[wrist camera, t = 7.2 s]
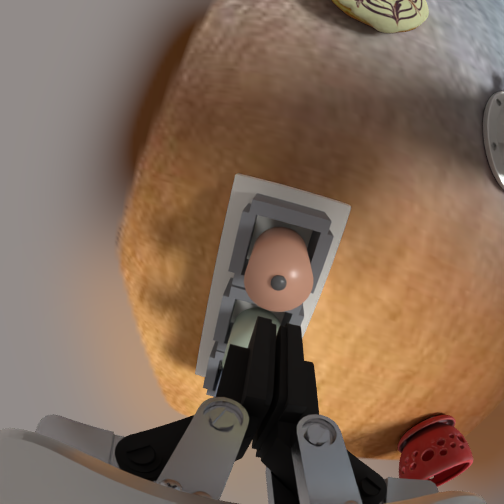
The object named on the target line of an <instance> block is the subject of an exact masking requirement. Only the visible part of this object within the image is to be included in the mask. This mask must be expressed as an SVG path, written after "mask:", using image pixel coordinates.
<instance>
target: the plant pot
mask: <svg viewBox="0 0 504 504" xmlns="http://www.w3.org/2000/svg"><path fill="white" fill-rule="evenodd" d="M454 426H455V419H454V418H453V417H452V416H449V415H439V416H433V417H431V418H429V419H427V420H425V421H423V422H421V423H419V424H417V425H416V426H414V427H413V428H411V429H410V430H409V431H407V432H406V433H405V434H404V435H403V437H402V438H401V439H400V441H399V443H398V451H399V452H401V453H402V454H401V457H400V462H399V478H403V479H417V480H429V481H432V482H433V483H435V485H436V486H437V487H438V486H440V485H442V484H444V483H446V482H448V481H450V480H451V479H453V478H455V477H456V476H458V475H459V474H461V473H462V472H464V471H465V470H466V469H467V468H468V467H470V465H471V464H472V463H473V456H472V453H471V450H470V448H469V445H468V443H467V441H466V440H465V438H464V436H463V435H462V434H461V433H460V432H459V431H458V430H457V429H456V428H454ZM432 476H434V478H433V479H429V478H430V477H432Z"/></svg>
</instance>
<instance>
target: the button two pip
mask: <svg viewBox="0 0 504 504" xmlns="http://www.w3.org/2000/svg"><path fill="white" fill-rule="evenodd" d="M258 316H260V317H264V318H268V319H272V323H273V324H276V325H277V328H276V335H277V332H278V329H279V327H280V322H279V320H278V318H277V317H276V316H275V315H274V314H273V313H271V312H270V311H268V310H265V309H262V308H249V309H246V310H244V311H242V312H241V313H239V314H238V315H237V317H236V318H235V321H234V324H233V327H232V330H231V334H230V337H229V340H228V344H227V347H226V350H225V354H224V357H223V361H222V366H223V368H224V364H225V360H226V357H227V353H228V349H229V346H230V344H233V345H237V346H241V347H245V348H248V345H249V342H250V339H251V336H252V333H253V329H254V326H255V323H256V320H257V317H258Z"/></svg>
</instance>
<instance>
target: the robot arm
mask: <svg viewBox="0 0 504 504" xmlns="http://www.w3.org/2000/svg"><path fill="white" fill-rule="evenodd" d="M483 136H484V145H485V150H486V155H487V158H488V162H489V165H490V167H491V170H492V172H493V175H494V177H495V178H496V180H497V182H498V183H499V185H500V186H501V187H502V189H503V190H504V91H499V92H497V93H495V94H493V95H492V96H491V97H490V98H489V100H488V102H487V104H486V108H485V111H484V118H483ZM276 328H277V325H276V324H273V323H272V319H268V318H264V317H260V316H258V317H257V320H256V323H255V326H254V329H253V333H252V336H251V339H250V342H249V345H248V348H245V347H241V346H237V345H233V344H230V346H229V349H228V353H227V357H226V360H225V364H224V368H223V371H222V375H221V379H220V382H219V386H218V389H217V393H216V397H214V398H209V399H208V400H206V401H204V402H203V403H202V404H201V405H200V407H199V408H198V410H197V412H196V414H195V415H193V416H190V417H187V418H184V419H182V420H178V421H175V422H172V423H170V424H166V425H163V426H160V427H156V428H153V429H150V430H146V431H143V432H139V433H136V434H132V435H129V436H126V437H123V436H118V435H114V432H112V431H108V430H104V429H100V428H97V427H93V426H89V425H86V424H83V423H80V422H77V421H73V420H71V419H68V418H65V417H62V416H58V415H48V416H45V417H44V418H42V419H41V421H40V422H39V424H38V426H37V429H36V431H35V432H31V431H27V430H22V429H15V428H8V429H2V430H0V504H237V503H231V502H225V501H220V500H219V499H220V497H221V494H222V492H223V490H224V487H225V485H226V482H227V480H228V477H229V475H230V472H231V470H232V467H233V464H234V462H235V461H236V460H239V459H241V458H242V457H243V455H244V454H245V452H246V450H247V448H248V447H249V445H250V443H251V441H252V439H253V442H252V448H253V449H257V452H256V457H261V461H262V462H263V463H264V464H265V465H266V481H267V492H268V502H269V504H487V503H486V501H485V500H484V499H483V498H482V497H481V496H480V495H478V494H475V493H471V492H465V491H446V492H438V488H437V486H436V485H435V483H433V482H432V481H429V480H417V479H403V478H392V477H388V478H386V479H383V478H382V477H381V476H380V475H379V474H378V473H376V472H375V471H374V470H372V469H371V468H370V467H368V466H367V465H365V464H364V463H363V462H362V461H360V460H359V459H358V458H356V457H355V456H354V455H353V454H351V453H350V452H349V451H348V450H346V447H345V444H344V440H343V437H342V434H341V431H340V429H339V427H338V425H337V424H336V423H335V422H334V421H333V420H331V419H330V418H328V417H325V416H323V415H319V408H318V398H317V388H316V379H315V370H314V364H313V363H312V362H308V361H304V354H303V343H302V331H301V326H298V325H293V324H289V323H286V325H285V326H280V327H279V329H278V332H277V335H276Z"/></svg>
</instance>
